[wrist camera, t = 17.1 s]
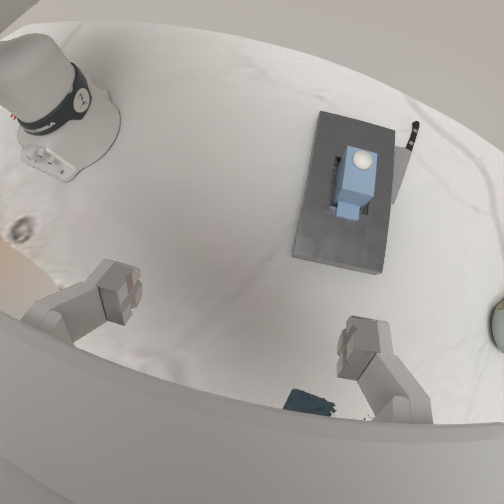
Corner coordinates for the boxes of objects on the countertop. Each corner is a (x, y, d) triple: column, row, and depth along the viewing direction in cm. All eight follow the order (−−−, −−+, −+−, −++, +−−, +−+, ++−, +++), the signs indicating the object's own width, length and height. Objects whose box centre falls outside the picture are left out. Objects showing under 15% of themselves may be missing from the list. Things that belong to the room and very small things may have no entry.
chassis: (291, 257, 44) (293, 253, 41) (317, 121, 47) (319, 110, 44) (374, 275, 43) (382, 272, 40) (388, 139, 46) (395, 130, 43)
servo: (327, 221, 44) (341, 201, 36) (337, 159, 46) (350, 129, 37) (354, 227, 44) (373, 209, 35) (362, 165, 46) (380, 137, 37)
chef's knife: (370, 208, 45) (388, 217, 44) (372, 205, 44) (390, 215, 43) (404, 116, 47) (419, 124, 47) (405, 113, 46) (421, 121, 46)
